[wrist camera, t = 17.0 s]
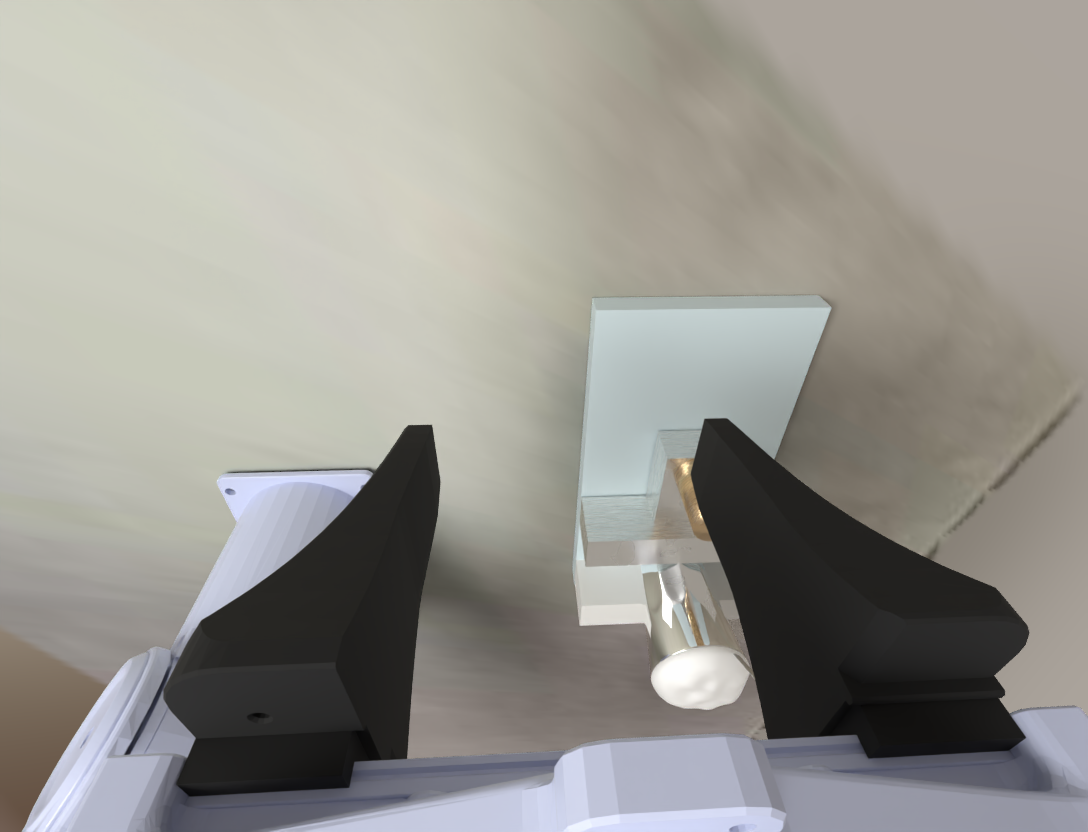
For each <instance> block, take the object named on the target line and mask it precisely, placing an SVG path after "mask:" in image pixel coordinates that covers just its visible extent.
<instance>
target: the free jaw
mask: <svg viewBox="0 0 1088 832" xmlns="http://www.w3.org/2000/svg"><path fill="white" fill-rule="evenodd" d="M700 434H701V430H686V431H658V433H657V438H656V444H655V449H654V454H653V460H652V465H651V470H650V476H649V481H648V487H647V492H646V495H644V496H611V497H581V510H580V530H581V537H582V544H583V551H584V559H585V566H586V567H598V566H626V565H653V564H679V563H708V562H720V560H719V557H718V555H717V552H716V550H715V548H714V545H713V543H712V540H711V538H710V535H709V533H708V530H707V528H706V525H705V523H704V520H703V518H702V515H701V513H700V510H699V507H698V503H697V500H696V496H695V492H694V488H693V483H692V479H691V475H690V474H691V470H692V466H693V462H694V458H695V454H696V450H697V446H698V442H699V438H700Z"/></svg>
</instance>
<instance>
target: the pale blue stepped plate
mask: <svg viewBox="0 0 1088 832" xmlns="http://www.w3.org/2000/svg"><path fill="white" fill-rule="evenodd" d="M831 308H832V307H831V306H830V305H828V304H827V303H826V302H825V301H824V300H823V299H822V298H821V297H820V296H819V295H789V296H700V297H611V298H592V311H591V325H590V338H589V352H588V365H587V379H586V392H585V405H584V419H583V432H582V446H581V459H580V473H579V486H578V500H577V513H576V527H575V540H574V554H573V567H572V570H573V579H574V585H575V588H576V597H577V605H578V614H579V623H580V626H584V625H608V624H632V623H645V620H644V613H643V607H642V600H641V593H640V586H639V579H638V572H637V565H626V566H598V567H586V566H585V559H584V551H583V544H582V537H581V530H580V510H581V497H611V496H644V495H646V492H647V487H648V481H649V476H650V470H651V465H652V460H653V454H654V449H655V444H656V438H657V433H658V431H686V430H702V426H703V422H704V419H708V418H727V419H729V420H730V421H731V422H732V423H733V424H735V425H736V426H737V427H738V428H739V429H740V430H741V431H742V432H744V433H745V434H746V435H747V436H748V437H749V438H750V439H751V440H753V441H754V442H755V443H756V444H757V445H758V446H759V447H760V448H761V449H763V450H764V451H765V452H766V453H767V454H768V455H769V456H771V457H772V458H773V459H775V456H776V454H777V451H778V448H779V446H780V443H781V440H782V438H783V435H784V433H785V430H786V427H787V425H788V422H789V419H790V417H791V414H792V411H793V409H794V406H795V403H796V401H797V398H798V395H799V393H800V390H801V387H802V385H803V382H804V379H805V377H806V374H807V372H808V369H809V366H810V364H811V361H812V358H813V356H814V353H815V350H816V348H817V345H818V342H819V340H820V337H821V334H822V332H823V329H824V326H825V324H826V321H827V318H828V316H829V313H830V310H831ZM702 564H703V566H704V568H705V570H706V573H707V575H708V577H709V579H710V582H711V584H712V586H713V589H714V591H715V593H716V595H717V598H718V600H719V602H720V605H721V607H722V609H723V611H724V613H725V615H726V617H727V619H740V618H739V615H738V611H737V608H736V604H735V601H734V597H733V594H732V591H731V588H730V585H729V583H728V580H727V577H726V575H725V572H724V570H723V567H722V565H721V562H708V563H702Z"/></svg>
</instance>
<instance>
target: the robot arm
mask: <svg viewBox="0 0 1088 832" xmlns="http://www.w3.org/2000/svg"><path fill="white" fill-rule="evenodd" d="M690 475H691V479H692V483H693V488H694V492H695V496H696V500H697V503H698V507H699V510H700V513H701V515H702V518H703V520H704V523H705V525H706V528H707V530H708V533H709V535H710V538H711V540H712V543H713V545H714V548H715V550H716V552H717V555H718V557H719V560H720V562H721V565H722V567H723V570H724V572H725V575H726V577H727V580H728V583H729V585H730V588H731V591H732V594H733V597H734V601H735V604H736V608H737V611H738V615H739V618H740V622H741V625H742V629H743V633H744V637H745V641H746V644H747V648H748V652H749V656H750V660H751V664H752V668H753V672H754V677H755V681H756V685H757V690H758V694H759V699H760V703H761V708H762V713H763V718H764V723H765V728H766V733H767V737H768V740H754V739H752V738H750V737H748V736H746V735H742V734H727V733H717V734H698V735H679V736H660V737H641V738H622V739H607V740H600V741H594V742H588V743H583V744H581V745H579V746H577V747H574V748H572V749H570V750H564V751H546V752H527V753H508V754H490V755H471V756H452V757H434V758H415V759H407V751H408V735H409V720H410V707H411V694H412V681H413V670H414V659H415V648H416V637H417V628H418V618H419V608H420V602H421V595H422V589H423V585H424V580H425V575H426V570H427V565H428V561H429V556H430V551H431V546H432V541H433V537H434V532H435V527H436V522H437V517H438V506H439V494H440V475H439V469H438V462H437V455H436V449H435V442H434V435H433V428H432V425H408V426H407V427H406V428H405V429H404V431H403V432H402V434H401V435H400V437H399V438H398V440H397V442H396V443H395V445H394V446H393V447H392V449H391V450H390V452H389V453H388V455H387V456H386V458H385V459H384V460H383V462H382V463H381V464H380V466H379V467H378V468H377V470H376V471H375V472H374V474H373V473H372V472H370V471H368V470H337V471H299V472H262V473H226V474H222V475H221V476H220V477H219V479H218V481H217V485H218V487H219V489H220V491H221V493H222V494H223V496H224V498H225V500H226V502H227V504H228V506H229V508H230V510H231V512H232V514H233V516H234V518H235V520H236V522H237V524H236V526H235V528H234V529H233V531H232V533H231V535H230V537H229V539H228V541H227V543H226V545H225V547H224V549H223V550H222V552H221V554H220V556H219V558H218V560H217V562H216V564H215V566H214V568H213V569H212V571H211V573H210V575H209V577H208V579H207V581H206V583H205V585H204V587H203V588H202V590H201V592H200V594H199V596H198V598H197V600H196V602H195V604H194V606H193V608H192V609H191V611H190V613H189V615H188V617H187V619H186V621H185V623H184V625H183V627H182V628H181V630H180V632H179V634H178V636H177V638H176V640H175V642H174V644H173V646H172V647H171V648H170V649H169V650H167V649H164V648H161V647H153V648H151V649H149V650H148V651H147V652H146V653H142V654H140V655H137V656H135V657H133V658H131V659H129V660H128V661H127V662H126V663H125V664H124V665H123V667H122V668H121V669H120V670H119V671H118V673H117V674H116V675H115V677H114V678H113V679H112V681H111V682H110V683H109V685H108V686H107V688H106V689H105V690H104V692H103V693H102V695H101V696H100V698H99V699H98V701H97V702H96V703H95V705H94V706H93V708H92V710H91V711H90V713H89V714H88V716H87V717H86V719H85V720H84V722H83V723H82V725H81V726H80V728H79V730H78V731H77V733H76V734H75V736H74V737H73V739H72V741H71V742H70V744H69V746H68V747H67V749H66V750H65V752H64V754H63V755H62V757H61V759H60V761H59V762H58V764H57V766H56V767H55V769H54V771H53V772H52V774H51V776H50V778H49V780H48V781H47V783H46V785H45V787H44V788H43V790H42V792H41V794H40V796H39V798H38V800H37V802H36V804H35V805H34V807H33V810H32V812H31V814H30V816H29V818H28V821H27V824H26V826H25V827H24V829H23V831H22V832H1088V716H1087V715H1086V714H1085V713H1084V711H1083V710H1082V709H1081V708H1080V707H1077V706H1057V707H1037V708H1026V709H1020V710H1017V711H1014V712H1012V713H1010V714H1009V712H1008V711H1007V710H1006V708H1005V707H1004V705H1003V704H1002V703H1001V701H1000V700H999V698H1002V697H1003V696H1004V695H1005V690H1004V689H1003V687H1002V686H1001V684H1000V683H999V682H998V680H997V679H996V678H995V676H994V675H995V674H996V673H997V672H999V671H1000V670H1001V669H1002V668H1003V667H1004V666H1005V665H1006V664H1007V663H1008V662H1009V661H1010V660H1012V659H1013V658H1014V657H1015V656H1016V655H1017V654H1018V653H1019V652H1020V651H1021V649H1022V648H1023V647H1024V646H1025V645H1026V642H1027V639H1028V635H1029V630H1028V626H1027V625H1026V623H1025V622H1024V621H1023V620H1022V618H1021V617H1020V616H1019V615H1018V614H1017V613H1016V611H1015V610H1014V609H1013V608H1012V607H1011V605H1010V604H1009V603H1008V602H1007V601H1006V599H1005V598H1004V597H1003V596H1002V595H1001V593H1000V592H999V591H998V590H997V589H996V588H994V587H992V586H990V585H987V584H985V583H983V582H980V581H978V580H975V579H973V578H970V577H968V576H966V575H963V574H961V573H959V572H956V571H954V570H951V569H949V568H947V567H944V566H942V565H940V564H938V563H936V562H934V561H932V560H930V559H928V558H925V557H923V556H921V555H919V554H917V553H915V552H913V551H911V550H909V549H907V548H905V547H903V546H901V545H899V544H897V543H895V542H894V541H892V540H890V539H888V538H886V537H885V536H883V535H881V534H879V533H878V532H876V531H874V530H872V529H870V528H869V527H867V526H865V525H864V524H862V523H860V522H859V521H857V520H855V519H854V518H852V517H851V516H849V515H848V514H846V513H845V512H843V511H842V510H840V509H838V508H837V507H835V506H834V505H832V504H831V503H829V502H828V501H827V500H825V499H824V498H822V497H821V496H819V495H818V494H817V493H815V492H814V491H813V490H811V489H810V488H809V487H808V486H806V485H805V484H804V483H802V482H801V481H800V480H798V479H797V478H796V477H795V476H793V475H792V474H791V473H790V472H788V471H787V470H786V469H785V468H784V467H782V466H781V465H780V464H779V463H778V462H776V461H775V460H774V459H773V458H772V457H771V456H769V455H768V454H767V453H766V452H765V451H764V450H763V449H761V448H760V447H759V446H758V445H757V444H756V443H755V442H754V441H753V440H751V439H750V438H749V437H748V436H747V435H746V434H745V433H744V432H742V431H741V430H740V429H739V428H738V427H737V426H736V425H735V424H733V423H732V422H731V421H730V420H729V419H727V418H708V419H704V422H703V426H702V430H701V434H700V438H699V442H698V446H697V450H696V454H695V458H694V462H693V466H692V470H691V474H690ZM364 484H365V485H364ZM232 489H233V490H232Z"/></svg>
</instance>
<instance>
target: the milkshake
mask: <svg viewBox="0 0 1088 832" xmlns="http://www.w3.org/2000/svg"><path fill="white" fill-rule="evenodd" d="M637 572H638V579H639V586H640V593H641V600H642V607H643V613H644V620H645V628H646V637H647V646H648V655H649V664H650V673H651V681H652V685H653V687H654V689H655V690H656V692H657V693H658V695H659V696H660V697H661V698H662V699H664V700H665V701H666V702H667V703H669V704H672V705H674V706H678V707H681V708H685V709H690V708H698V709H704V710H711V709H714V708H716V707H718V706H721V705H726V704H731V703H733V702H734V701H736V700H737V698H738V697H739V696H740V694H741V692H742V690H743V688H744V686H745V684H746V681H747V679H748V677H749V673H750V675H751V676H752V677H753V678H754V679H755V677H754V672H753V670H752V669H751V668H750V666H749V663H748V661H747V659H746V657H745V655H744V653H743V651H742V649H741V647H740V645H739V642H738V640H737V638H736V636H735V634H734V632H733V630H732V628H731V626H730V624H729V621H728V619H727V617H726V615H725V613H724V611H723V609H722V607H721V605H720V602H719V600H718V598H717V595H716V593H715V591H714V589H713V586H712V584H711V582H710V579H709V577H708V575H707V573H706V570H705V568H704V566H703V564H702V563H679V564H653V565H637Z"/></svg>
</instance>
